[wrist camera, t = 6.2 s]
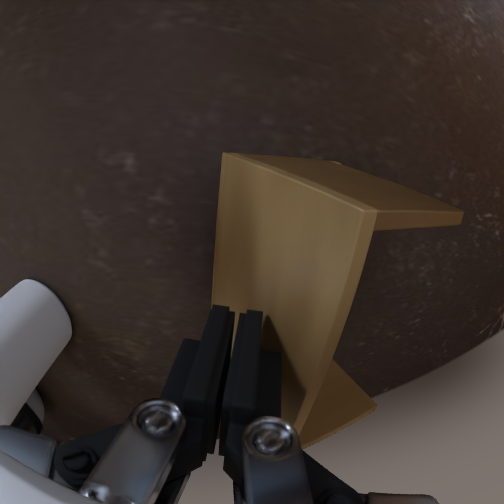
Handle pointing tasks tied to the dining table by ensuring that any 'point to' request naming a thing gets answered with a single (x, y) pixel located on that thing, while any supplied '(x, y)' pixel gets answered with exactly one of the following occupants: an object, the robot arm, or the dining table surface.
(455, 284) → the dining table surface
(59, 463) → the robot arm
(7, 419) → the can
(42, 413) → the pump dispenser
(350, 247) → the small wooden shelf
